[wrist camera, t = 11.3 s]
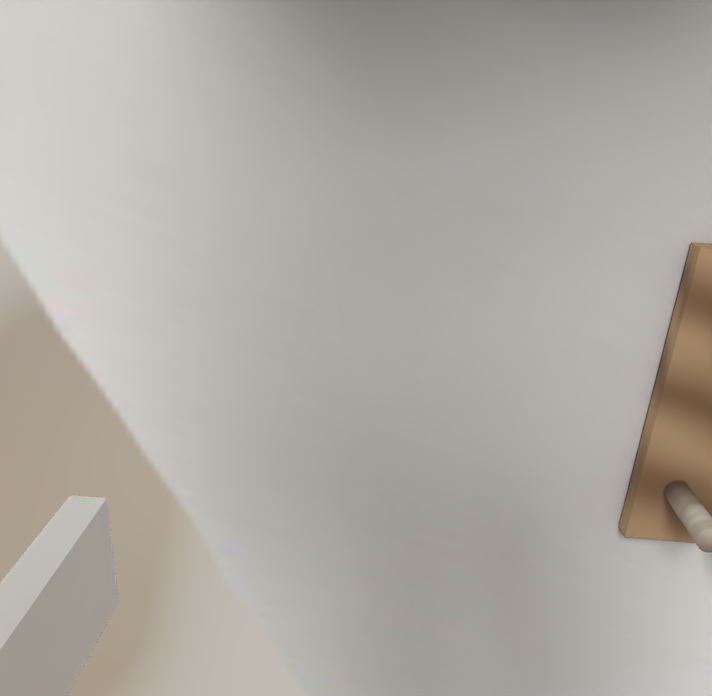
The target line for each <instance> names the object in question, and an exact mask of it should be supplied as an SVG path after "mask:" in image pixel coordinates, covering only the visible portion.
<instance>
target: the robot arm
mask: <svg viewBox="0 0 712 696" xmlns="http://www.w3.org/2000/svg"><path fill="white" fill-rule="evenodd" d="M118 602H119V599H118V590H117V581H116V573H115V564H114V556H113V547H112V539H111V531H110V521H109V513H108V504H107V499H106V498H97V497H84V496H69V498H68V499H67V500H66V501H65V503H64V504H63V505H62V506H61V508H60V509H59V510H58V511H57V513H56V514H55V515H54V516H53V518H52V519H51V520H50V521H49V523H48V524H47V525H46V526H45V528H44V529H43V530H42V531H41V533H40V534H39V535H38V536H37V538H36V539H35V540H34V541H33V543H32V544H31V545H30V546H29V548H28V549H27V550H26V551H25V553H24V554H23V555H22V557H21V558H20V559H19V560H18V562H17V563H16V564H15V565H14V566H13V568H12V569H11V570H10V571H9V573H8V574H7V575H6V577H5V578H4V579H3V580H2V582H1V583H0V696H69V693H70V692H71V690H72V688H73V686H74V684H75V683H76V681H77V679H78V677H79V675H80V673H81V671H82V669H83V668H84V666H85V664H86V662H87V660H88V658H89V656H90V655H91V653H92V651H93V649H94V647H95V645H96V643H97V641H98V640H99V638H100V636H101V634H102V632H103V630H104V629H105V627H106V625H107V623H108V621H109V619H110V617H111V615H112V614H113V612H114V610H115V608H116V606H117V604H118Z"/></svg>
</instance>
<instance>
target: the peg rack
mask: <svg viewBox="0 0 712 696" xmlns="http://www.w3.org/2000/svg"><path fill="white" fill-rule="evenodd" d="M619 527H620V529H621V531H622V533H623V535H624V537H625V538H637V539H650V540H663V541H676V542H689V543H696V544H697V545H698V547H699V548H700V549H701V550H702V551H704V552H712V244H702V243H691V246H690V250H689V254H688V258H687V261H686V265H685V269H684V273H683V277H682V281H681V285H680V289H679V293H678V297H677V301H676V305H675V308H674V312H673V316H672V320H671V324H670V328H669V332H668V336H667V340H666V344H665V348H664V352H663V355H662V359H661V363H660V367H659V371H658V375H657V379H656V383H655V387H654V391H653V395H652V399H651V403H650V406H649V410H648V414H647V418H646V422H645V426H644V430H643V434H642V438H641V442H640V446H639V450H638V453H637V457H636V461H635V465H634V469H633V473H632V477H631V481H630V485H629V489H628V493H627V497H626V500H625V504H624V508H623V512H622V516H621V520H620V524H619Z"/></svg>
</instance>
